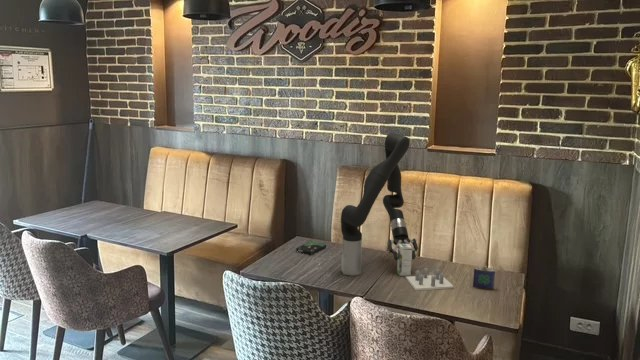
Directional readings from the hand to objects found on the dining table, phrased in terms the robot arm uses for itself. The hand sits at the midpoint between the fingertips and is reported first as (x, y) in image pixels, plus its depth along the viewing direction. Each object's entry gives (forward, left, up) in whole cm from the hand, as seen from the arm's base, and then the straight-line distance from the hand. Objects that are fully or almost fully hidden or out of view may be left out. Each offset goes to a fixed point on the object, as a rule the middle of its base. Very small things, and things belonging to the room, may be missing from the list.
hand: (405, 259), depth 252 cm
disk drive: (-40, +41, -9) cm, 58 cm away
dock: (+8, -12, -8) cm, 16 cm away
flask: (+31, -20, -8) cm, 38 cm away
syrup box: (0, +1, -8) cm, 8 cm away
